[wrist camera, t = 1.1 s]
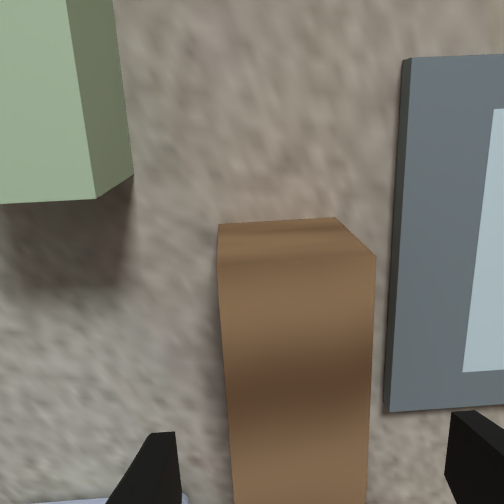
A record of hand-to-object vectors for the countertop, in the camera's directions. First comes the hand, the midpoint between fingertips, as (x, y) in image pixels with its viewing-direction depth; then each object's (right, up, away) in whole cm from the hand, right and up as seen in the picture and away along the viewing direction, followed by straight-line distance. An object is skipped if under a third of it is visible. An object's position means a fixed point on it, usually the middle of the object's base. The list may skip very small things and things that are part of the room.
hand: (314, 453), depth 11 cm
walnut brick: (0, +2, +7) cm, 7 cm away
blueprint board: (+10, +6, +6) cm, 13 cm away
